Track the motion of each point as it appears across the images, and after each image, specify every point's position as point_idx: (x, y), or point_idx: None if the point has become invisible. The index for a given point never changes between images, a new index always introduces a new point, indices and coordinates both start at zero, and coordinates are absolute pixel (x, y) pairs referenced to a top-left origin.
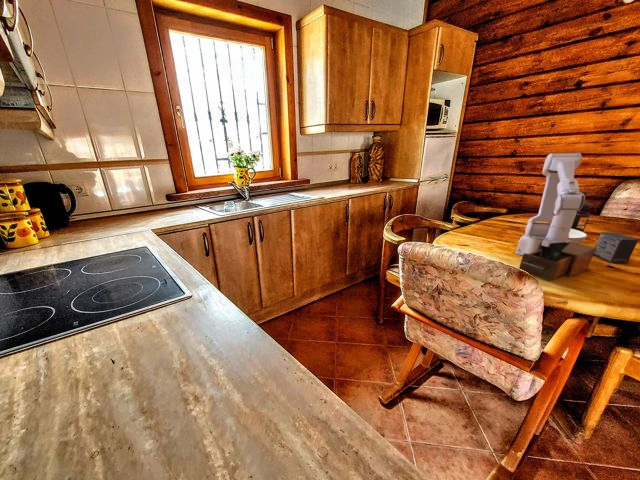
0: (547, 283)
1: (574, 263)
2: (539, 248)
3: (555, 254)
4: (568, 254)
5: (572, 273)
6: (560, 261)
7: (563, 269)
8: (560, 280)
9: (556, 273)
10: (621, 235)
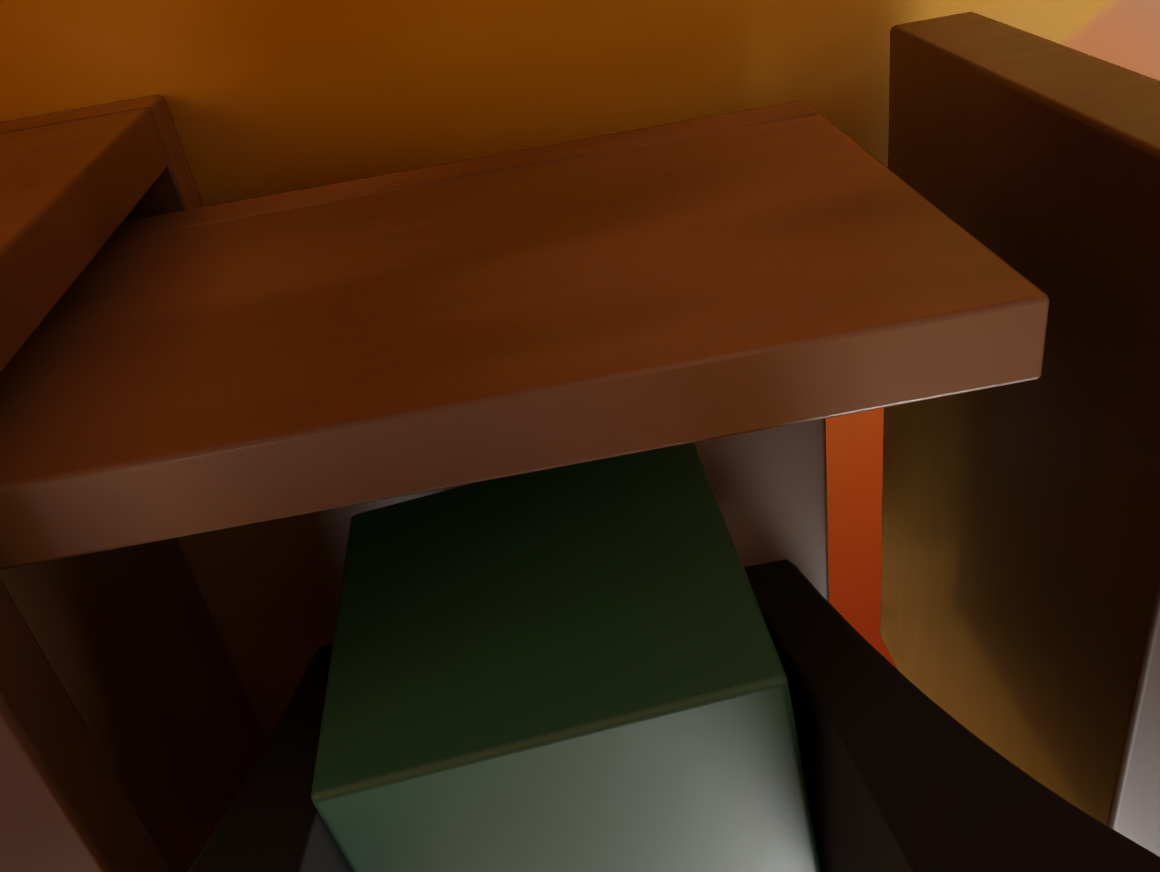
0: (1030, 31)
1: (15, 236)
2: None
3: (620, 757)
4: (31, 658)
5: (5, 135)
6: (995, 314)
7: (421, 222)
8: (583, 29)
9: (999, 68)
10: None
